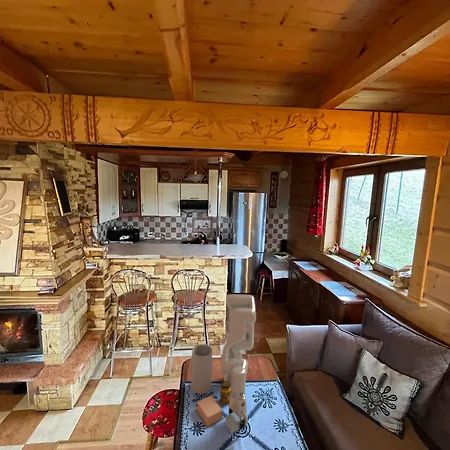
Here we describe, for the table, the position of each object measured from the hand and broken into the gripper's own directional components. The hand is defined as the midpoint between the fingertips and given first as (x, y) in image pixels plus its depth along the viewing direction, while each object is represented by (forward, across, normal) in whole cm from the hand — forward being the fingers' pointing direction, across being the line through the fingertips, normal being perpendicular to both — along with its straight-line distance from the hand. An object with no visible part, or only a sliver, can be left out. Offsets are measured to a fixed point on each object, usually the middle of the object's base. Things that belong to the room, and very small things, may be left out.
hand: (236, 421), depth 140 cm
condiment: (+3, +17, -3) cm, 18 cm away
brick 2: (+3, 0, 0) cm, 3 cm away
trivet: (+3, +13, +9) cm, 16 cm away
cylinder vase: (+3, +34, +3) cm, 35 cm away
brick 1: (+2, +13, +9) cm, 16 cm away
